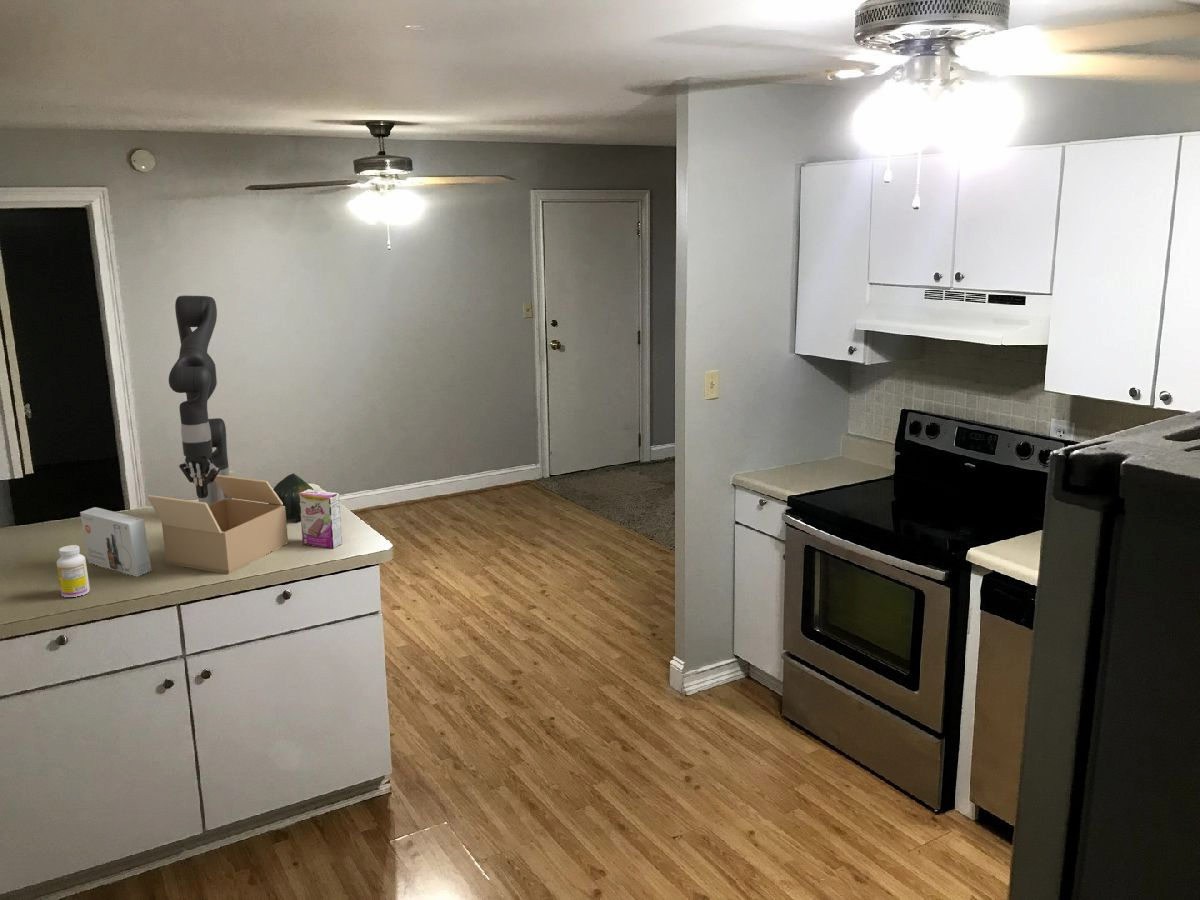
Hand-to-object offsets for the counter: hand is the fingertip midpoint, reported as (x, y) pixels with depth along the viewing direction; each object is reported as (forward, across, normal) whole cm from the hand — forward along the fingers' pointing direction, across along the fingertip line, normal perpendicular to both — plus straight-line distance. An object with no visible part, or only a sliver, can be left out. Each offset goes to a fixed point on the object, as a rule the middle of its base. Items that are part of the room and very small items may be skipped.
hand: (202, 497), depth 265 cm
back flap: (+3, 0, +17) cm, 17 cm away
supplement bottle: (+19, -16, -31) cm, 40 cm away
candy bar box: (+20, +21, +24) cm, 37 cm away
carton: (+20, +1, +7) cm, 21 cm away
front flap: (+2, +1, -8) cm, 8 cm away
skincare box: (+20, -20, -13) cm, 31 cm away
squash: (+20, -3, +41) cm, 46 cm away
